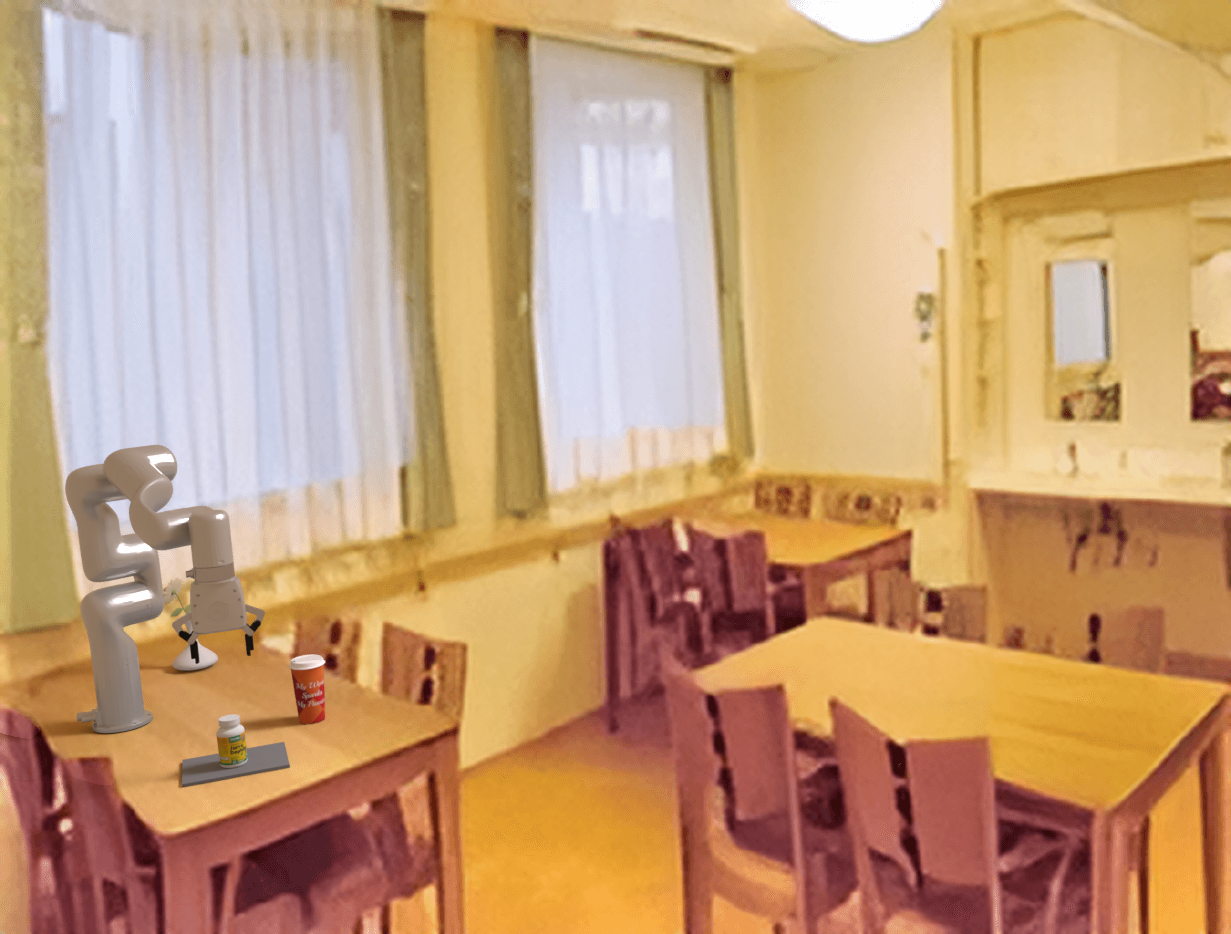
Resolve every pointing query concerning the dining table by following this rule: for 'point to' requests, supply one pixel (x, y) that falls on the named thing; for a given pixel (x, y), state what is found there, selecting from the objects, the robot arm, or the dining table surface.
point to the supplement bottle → (231, 742)
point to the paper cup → (309, 687)
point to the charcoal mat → (257, 762)
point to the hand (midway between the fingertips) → (223, 658)
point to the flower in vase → (184, 657)
